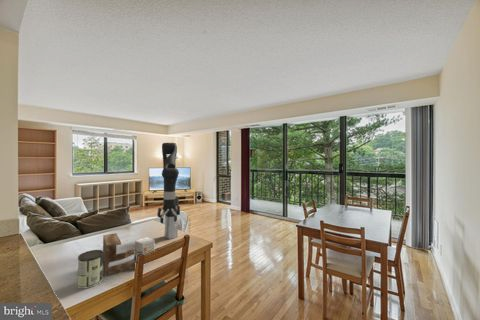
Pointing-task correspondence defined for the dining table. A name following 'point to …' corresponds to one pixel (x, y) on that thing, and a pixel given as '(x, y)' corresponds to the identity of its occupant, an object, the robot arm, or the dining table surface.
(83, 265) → the coffee can
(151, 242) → the ink box
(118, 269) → the shelf bay
